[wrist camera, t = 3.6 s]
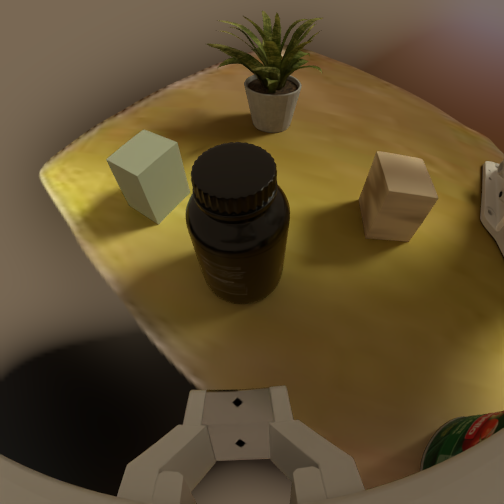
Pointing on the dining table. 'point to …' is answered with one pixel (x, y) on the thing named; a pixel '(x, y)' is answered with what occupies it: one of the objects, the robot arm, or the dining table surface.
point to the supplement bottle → (238, 221)
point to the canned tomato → (460, 437)
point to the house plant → (271, 72)
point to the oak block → (396, 197)
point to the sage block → (150, 174)
